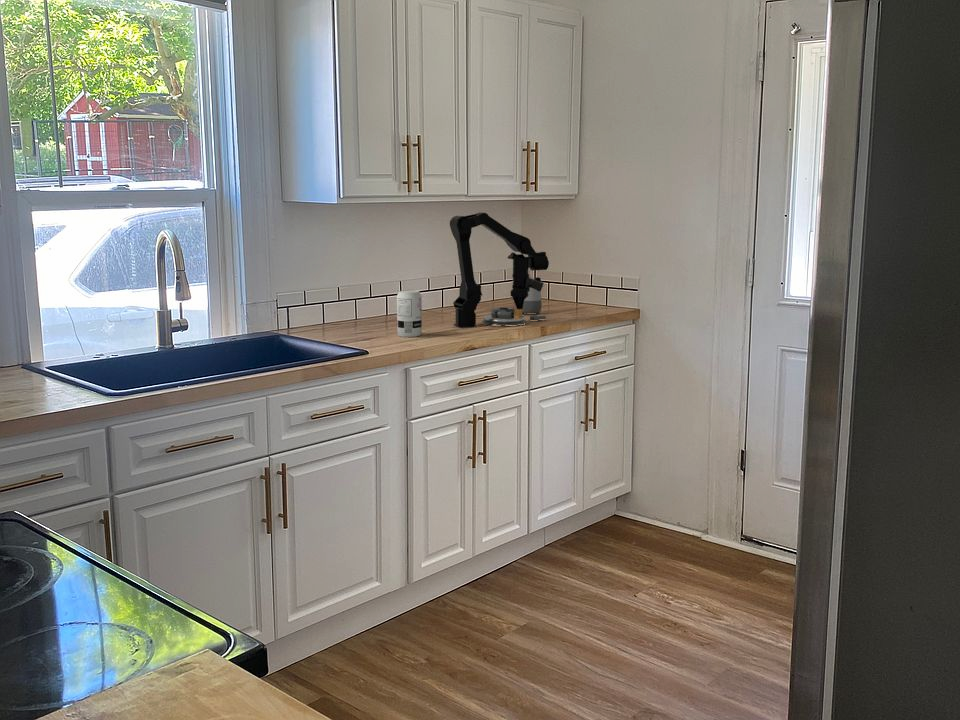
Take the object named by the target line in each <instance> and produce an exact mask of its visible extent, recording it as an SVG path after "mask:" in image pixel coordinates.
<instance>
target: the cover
mask: <svg viewBox="0 0 960 720" xmlns="http://www.w3.org/2000/svg"><path fill="white" fill-rule="evenodd" d="M515 309H516V307H515V308H514V307H507V306H506V307H505V306H501V307H499V306H498V307H492V308H491V311H490V315H491V317H492V318H499V319H510V318H514V310H515Z"/></svg>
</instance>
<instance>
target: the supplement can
mask: <svg viewBox="0 0 960 720" xmlns="http://www.w3.org/2000/svg"><path fill="white" fill-rule="evenodd" d="M420 292H421V291H420V290H399V291H398V294H397V295H396V319H397V320H396V322H397V323H396V324H397V325H396V326H397V327H396V331H397V333H396V334H397V335H398V336H399V337H401V338H417V336H418V337H420V336H421V335H422V334H423V333H422V332H423V331H422V329H423V327H422V325H423V323H422V322H423V321H422V319H423V317H422V316H423V315H422V300H423V299H422V294H421V293H420Z"/></svg>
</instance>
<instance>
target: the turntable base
mask: <svg viewBox="0 0 960 720" xmlns="http://www.w3.org/2000/svg"><path fill="white" fill-rule="evenodd" d="M526 322H527V321H526V320H525V319H524V321H523V322H517V323H493V322H487V321H484V319H482V321H481V323H484V324H488V325H501V326H505V325H518V324H524V323H526ZM484 324H483V325H484ZM526 324H527V323H526Z"/></svg>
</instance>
